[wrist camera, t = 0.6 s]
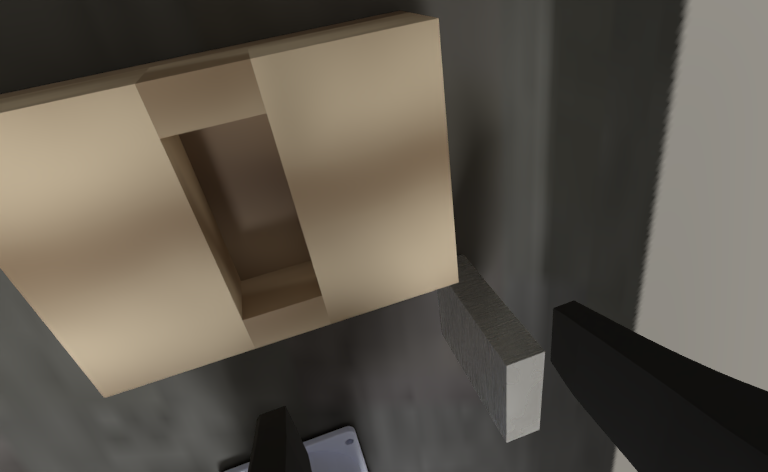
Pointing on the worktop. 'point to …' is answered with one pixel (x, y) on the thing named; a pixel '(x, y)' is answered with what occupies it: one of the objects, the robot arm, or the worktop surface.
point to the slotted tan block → (229, 195)
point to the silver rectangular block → (493, 351)
